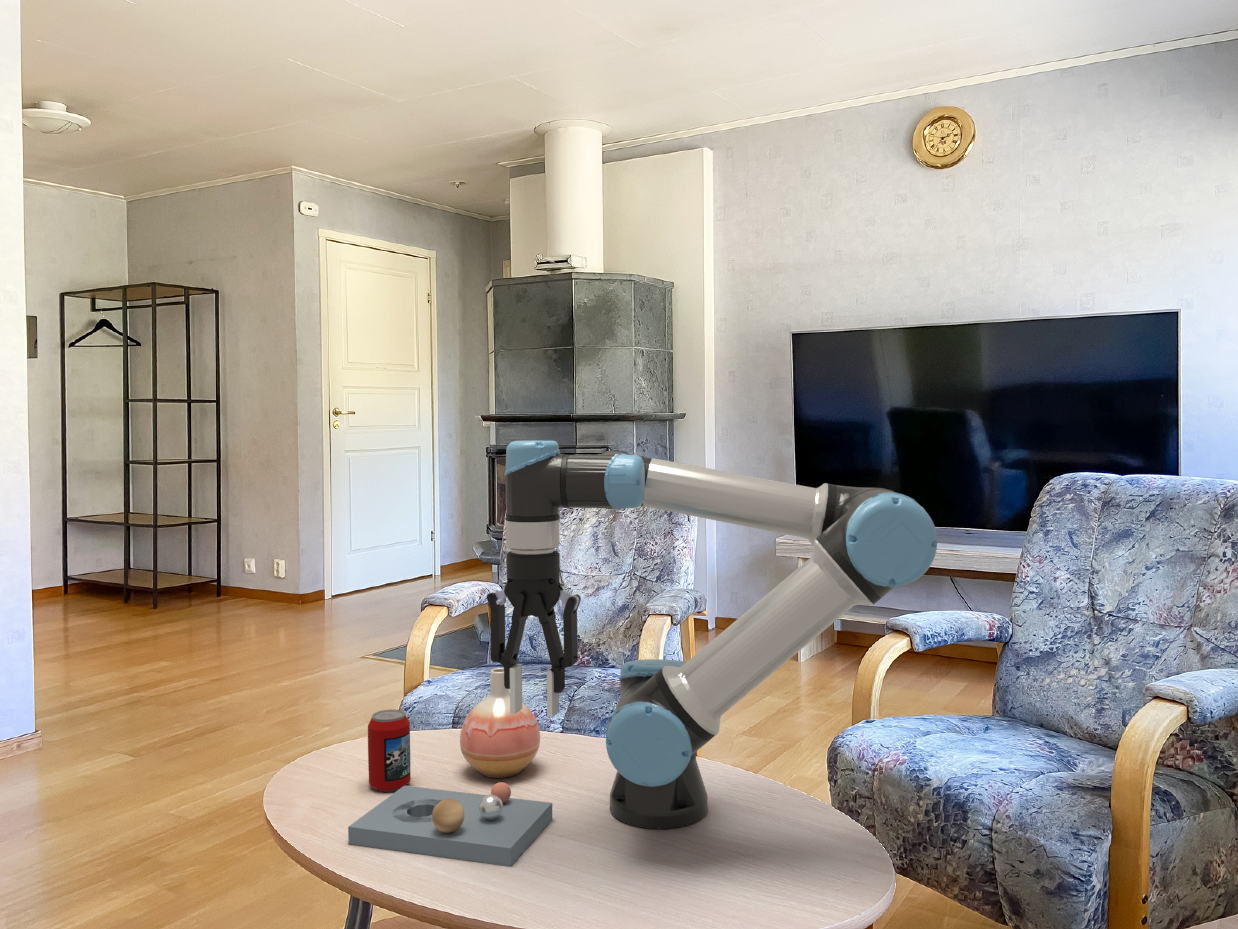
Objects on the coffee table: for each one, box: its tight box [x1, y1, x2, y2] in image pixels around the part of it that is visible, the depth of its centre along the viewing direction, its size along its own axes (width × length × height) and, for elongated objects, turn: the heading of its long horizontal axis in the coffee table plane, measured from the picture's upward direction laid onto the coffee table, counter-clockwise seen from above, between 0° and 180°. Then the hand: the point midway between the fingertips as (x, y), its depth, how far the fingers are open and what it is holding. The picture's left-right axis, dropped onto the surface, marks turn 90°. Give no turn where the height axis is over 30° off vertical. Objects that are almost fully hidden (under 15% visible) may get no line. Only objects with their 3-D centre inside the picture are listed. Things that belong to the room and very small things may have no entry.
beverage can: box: [367, 709, 412, 793], centre depth 159 cm, size 7×7×12 cm
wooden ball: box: [432, 799, 464, 833], centre depth 135 cm, size 4×4×4 cm
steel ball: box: [478, 793, 503, 820], centre depth 140 cm, size 4×4×4 cm
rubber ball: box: [490, 781, 512, 803], centre depth 146 cm, size 3×3×3 cm
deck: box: [347, 785, 553, 867], centre depth 141 cm, size 25×16×2 cm, turn 73°
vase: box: [459, 667, 541, 779], centre depth 165 cm, size 14×14×18 cm
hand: (534, 712), depth 137 cm, fingers open, 5 cm apart
